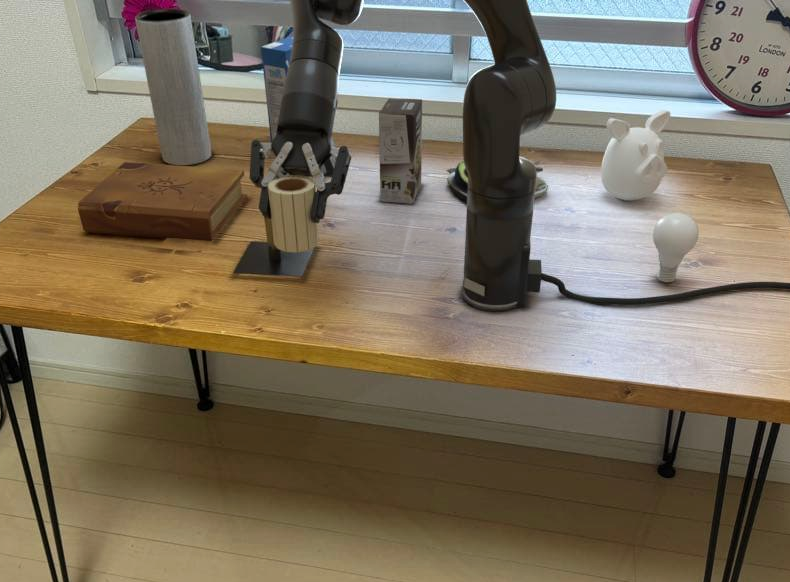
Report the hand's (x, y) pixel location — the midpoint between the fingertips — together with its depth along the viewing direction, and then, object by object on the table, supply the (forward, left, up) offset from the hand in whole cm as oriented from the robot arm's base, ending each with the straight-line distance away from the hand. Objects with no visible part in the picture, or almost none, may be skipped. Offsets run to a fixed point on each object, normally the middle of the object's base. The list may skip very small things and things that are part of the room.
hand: (290, 218), depth 110 cm
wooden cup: (0, -2, -4) cm, 5 cm away
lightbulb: (-54, -13, -14) cm, 58 cm away
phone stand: (+8, -52, -14) cm, 55 cm away
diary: (+30, -28, -14) cm, 44 cm away
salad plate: (-27, -45, -14) cm, 55 cm away
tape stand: (+7, -13, -14) cm, 21 cm away
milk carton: (+15, -66, -14) cm, 70 cm away
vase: (+36, -56, -14) cm, 68 cm away
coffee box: (-10, -42, -14) cm, 46 cm away
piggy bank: (-52, -44, -14) cm, 70 cm away
